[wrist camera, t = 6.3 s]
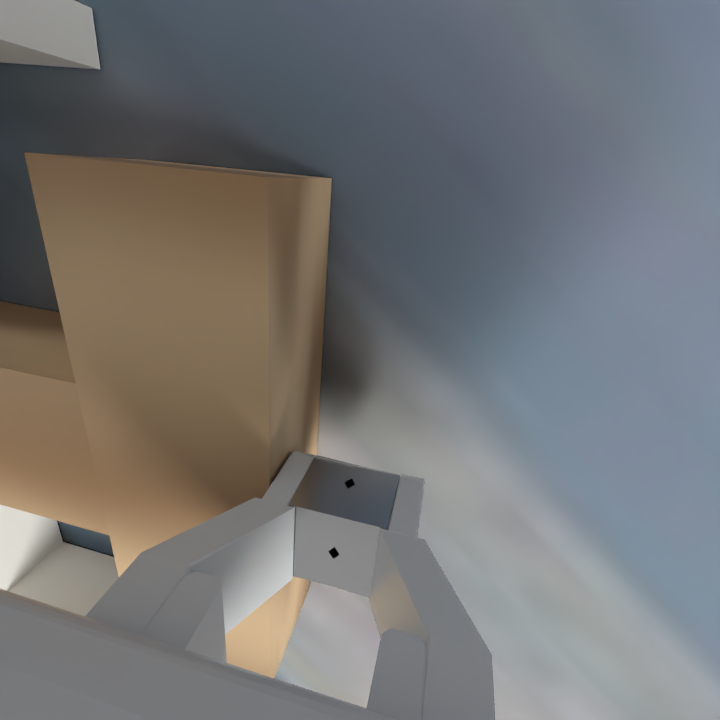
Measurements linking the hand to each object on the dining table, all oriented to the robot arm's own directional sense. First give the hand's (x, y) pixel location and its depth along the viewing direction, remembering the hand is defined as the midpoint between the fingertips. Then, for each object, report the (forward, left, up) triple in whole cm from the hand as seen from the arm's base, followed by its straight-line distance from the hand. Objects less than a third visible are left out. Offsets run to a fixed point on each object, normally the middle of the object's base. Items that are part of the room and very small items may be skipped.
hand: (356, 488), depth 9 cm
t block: (0, -8, -2) cm, 8 cm away
